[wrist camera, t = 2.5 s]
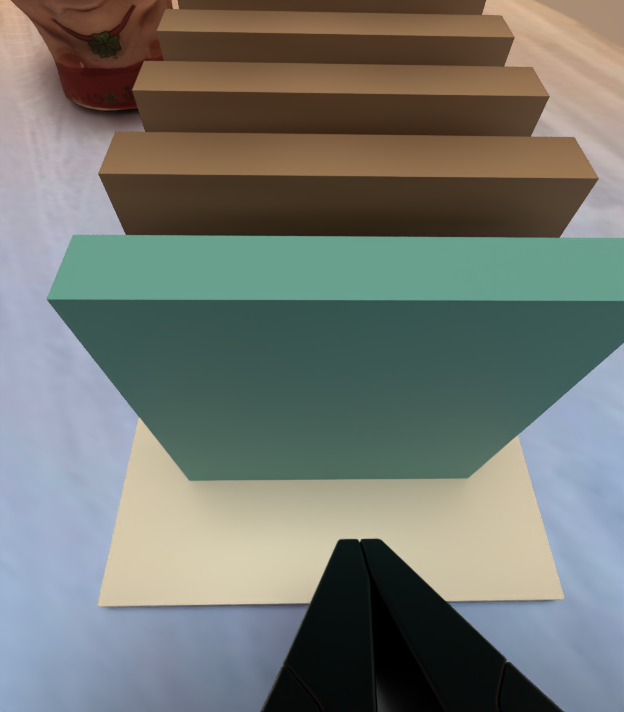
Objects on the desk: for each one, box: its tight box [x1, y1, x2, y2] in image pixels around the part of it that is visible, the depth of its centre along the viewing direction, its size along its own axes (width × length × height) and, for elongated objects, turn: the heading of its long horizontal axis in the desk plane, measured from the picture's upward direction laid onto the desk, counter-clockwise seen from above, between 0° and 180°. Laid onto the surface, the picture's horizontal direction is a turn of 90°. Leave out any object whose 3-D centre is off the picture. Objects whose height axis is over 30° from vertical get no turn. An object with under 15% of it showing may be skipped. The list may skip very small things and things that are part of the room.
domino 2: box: [157, 9, 515, 67], centre depth 18 cm, size 2×11×11 cm, turn 91°
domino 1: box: [178, 0, 486, 15], centre depth 20 cm, size 2×11×11 cm, turn 91°
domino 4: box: [47, 235, 624, 481], centre depth 13 cm, size 2×11×11 cm, turn 91°
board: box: [97, 417, 564, 607], centre depth 21 cm, size 24×16×1 cm, turn 1°
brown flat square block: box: [132, 61, 550, 137], centre depth 16 cm, size 2×11×11 cm, turn 91°
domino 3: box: [98, 132, 599, 238], centre depth 14 cm, size 2×11×11 cm, turn 91°
